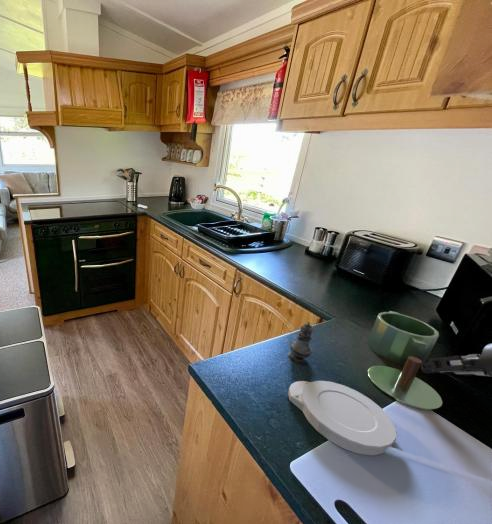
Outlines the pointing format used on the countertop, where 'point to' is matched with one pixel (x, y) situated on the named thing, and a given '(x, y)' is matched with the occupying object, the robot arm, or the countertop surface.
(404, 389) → the pot lid
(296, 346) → the grey chess piece
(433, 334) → the pot
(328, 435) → the lid
